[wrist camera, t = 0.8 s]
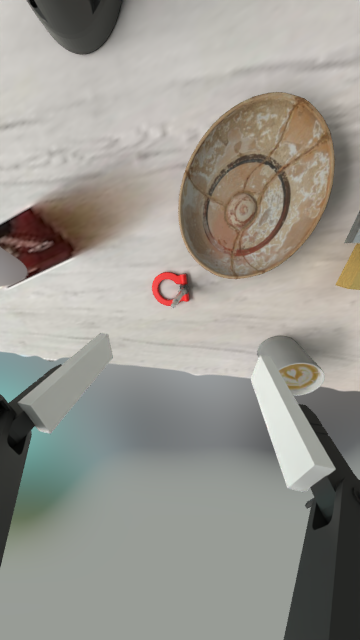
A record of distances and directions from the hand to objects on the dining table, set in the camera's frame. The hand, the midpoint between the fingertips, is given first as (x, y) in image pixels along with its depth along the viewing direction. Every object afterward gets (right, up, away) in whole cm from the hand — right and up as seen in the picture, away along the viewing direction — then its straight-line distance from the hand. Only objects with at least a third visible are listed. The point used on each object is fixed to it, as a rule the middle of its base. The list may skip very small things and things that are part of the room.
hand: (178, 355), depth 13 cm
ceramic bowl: (+12, +24, +15) cm, 31 cm away
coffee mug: (+27, -7, +28) cm, 40 cm away
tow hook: (-2, +11, +24) cm, 27 cm away
